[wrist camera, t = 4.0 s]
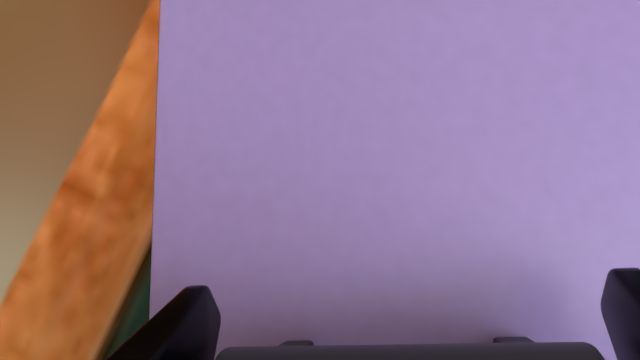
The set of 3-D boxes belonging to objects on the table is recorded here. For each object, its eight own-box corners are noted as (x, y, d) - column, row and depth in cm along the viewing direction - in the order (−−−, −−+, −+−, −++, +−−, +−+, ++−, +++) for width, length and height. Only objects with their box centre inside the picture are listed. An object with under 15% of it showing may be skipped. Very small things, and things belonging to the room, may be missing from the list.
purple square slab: (746, 580, 8) (1132, 939, 4) (159, 538, 10) (-23, 733, 6) (603, -104, 11) (725, -337, 7) (174, -24, 14) (61, -165, 9)
